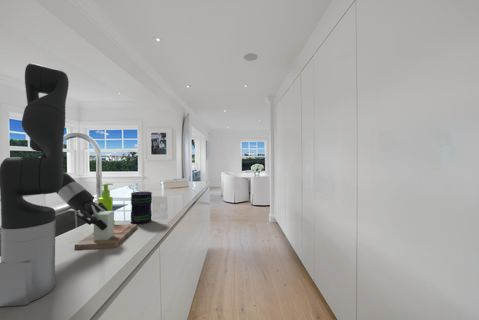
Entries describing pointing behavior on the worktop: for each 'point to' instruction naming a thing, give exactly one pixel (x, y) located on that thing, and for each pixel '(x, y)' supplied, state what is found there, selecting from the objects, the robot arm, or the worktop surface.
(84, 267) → the worktop surface
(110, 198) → the lime green stepped cylinder
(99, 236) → the pale mint tall block
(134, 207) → the dark blue ridged cylinder
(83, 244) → the walnut board
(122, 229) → the terracotta pad
